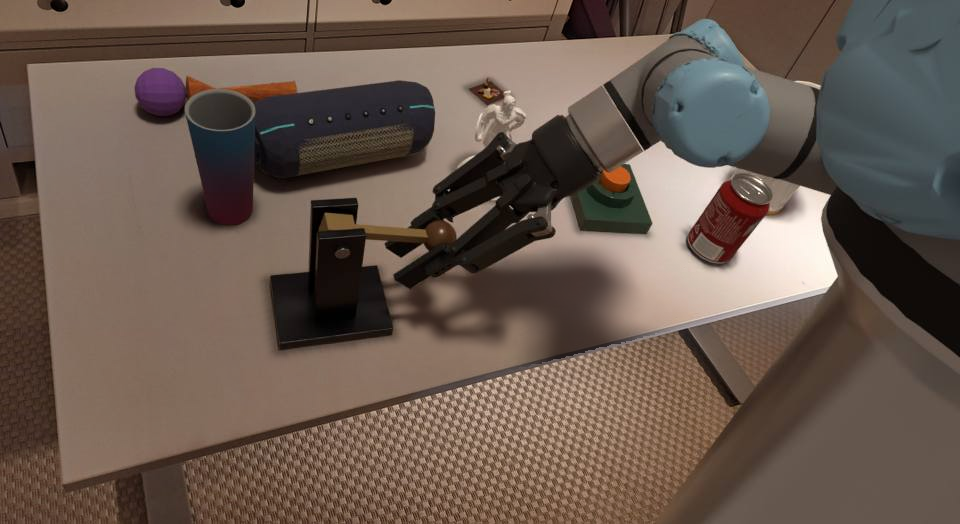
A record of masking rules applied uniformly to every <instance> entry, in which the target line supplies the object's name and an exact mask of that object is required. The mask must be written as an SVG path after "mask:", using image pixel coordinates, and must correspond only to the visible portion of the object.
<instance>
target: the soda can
mask: <svg viewBox="0 0 960 524" xmlns="http://www.w3.org/2000/svg"><path fill="white" fill-rule="evenodd" d="M729 179H730V178H729ZM729 179H727V180H725V181H723V182H722V183H721V185H720V187H718V189H717V191H716V192H715V194H714V195H713V196H712V198H711V200H710V201H709V202H708V204H707V205H706V207H705V208H704V210H703V211H702V213H701V214H700V216H699V217H698V219H697V220H696V222H695V223H694V225H693V226H692V228H691V229H690V230H689V232H688V234H687V241H688V245H689V247H690V248H691V250H692V251H693V252H694V253H695V254H696V255H697V256H699V258H701V259H703V260H705V261H707V262H709V263H712V264H725V263H728V262H730V261H731V260H732V258H733V257H734V256H735V255H736V254H737V252H738V251H739V250H740V248H741V247H742V246H743V245H744V244H745V242H746V241H747V240H748V238H749V237H750V236H751V234H753V232H754V231H755V229H756V228H757V227H758V226H759V225H760V223H761V222H762V221H763V220H764V218H765V217H766V215H767V213H768V211H769V209H770V201H771V200H772V197H773V195H772V191H771V189H770V187H769V186H768V185H767V184H766V183H765V182H764V181H763V180H761V179H760V178H758V177H756V176H754V175H751V174H747V173H739V174H736V175H735V176H734V177H733V178H732V179H730V180H729Z"/></svg>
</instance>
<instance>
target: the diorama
mask: <svg viewBox="0 0 960 524" xmlns="http://www.w3.org/2000/svg"><path fill="white" fill-rule="evenodd" d="M468 90H469V91H470V92H471V93H472V94H473V95H475V96H476V97H477V98H478V99H479V100H480V101H481V102H482V103H484V105H486V106H490V105H492V104H493V103H494V104H495V103H497V102H499V101H501V100H502V101H503V100H504V98H505V97H504V95H503V93H504V92H505V91H504V90H502V89H501V88H500V87H498V86H497V85H496V84H495V83H494V82H493V81H491V80H489V77H486V80H485V82H484V83H480V84H478V85H475V86H472V87H470V88H468Z"/></svg>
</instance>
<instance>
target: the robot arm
mask: <svg viewBox="0 0 960 524" xmlns="http://www.w3.org/2000/svg"><path fill="white" fill-rule="evenodd" d="M835 42H836V46H837V48H838V50H839V51H840V54H839V55H837V58H836V59H835V60H834V61H833V63H831V65H829V66H828V67H827V68H826V70H825V71H824V73H823V75H822V78H821V82H820V86H821V87H820V90H819V89H817V88H814V87H811V86H808V85H804V84H800V83H797V82H794V81H795V80H790V79H787V78H784V77H781V76H778V75H776V74H775V75H774V74H772V73H768V72H765V71H761V70H758V69H755V68H751V67H748V66H746V64H745V62H744V59H743V57H742V55H741V53H740V51H739V49H738V48H737V46H736V44H735V43H734V41H733V40H732V38H731V37H730V35H728V33H727V32H726V30H725V29H723V27H720V25H719V23H717V22H716V21H715V20H713V19H710V18H703V19H699V20H697V21H696V22H695V23H693V24H691V25H689V26H687V27H686V28H684V29H683V30H681V31H677V32H675V33H673V34H672V35H670V36H669V37H668V39H667V40H666V41H664V42H663V43H662V44H660V45H659V46H657V47H656V48H654V49H653V50H651V51H650V52H648V53H647V54H646V55H644V56H643V57H641V58H639V60H637V61H635V62H634V63H632V64H631V65H629V66H628V67H627V68H625V69H623V70H622V71H620V73H618V74H616V75H615V76H614V77H612V78H610V79H609V80H608V81H606V82H604V83H603V84H602V85H600V86H598V87H597V88H595V89H594V90H592V91H590V92H589V93H588V94H587V95H584V96H583V97H582V98H580V99H579V100H577V101H575V102H574V103H573V104H571V105H569V106H568V108H567V113H568V114H567V115H566V116H564V115H563V114H557V115H555V116H554V117H552V118H551V119H548V121H546V122H545V123H543V124H542V125H540V126H539V127H537V128H536V129H534V131H532V133H531V138H530V139H529V140H527V141H521V142H519V143H516V142H514V141H513V140H512V141H511V140H510V139H509V138H508V137H507V136H506V134H505V133H504V132H500V133H498V134H497V135H496V136H495V137H494V139H493V140H492V141H491V142H490V144H489V145H488V146H487V147H486V148H485V147H484V148H485V149H484V148H483V149H484V150H483V149H482V150H481V151H479V152H478V153H477V154H475V155H476V156H474V155H473V156H474V157H473V158H471V159H470V160H469V161H467V162H466V163H465V164H463V165H462V166H461V167H459V168H458V169H457V168H456V169H455V170H454V171H453V172H451V173H450V174H448V175H447V176H446V177H445V178H443V179H442V180H441V181H439V182H438V183H437V184H435V185H434V186H433V188H432V193H433V194H434V201H433V202H432V205H431V207H429V208H427V209H426V210H424V211H423V212H422V213H420V214H419V215H417V216H415V217H414V218H413V219H412V220H411V221H410V225H409V226H408V227H407V228H411V229H425V228H426V226H427V225H428V224H430V223H431V222H433V221H437V220H442V221H445V220H447V222H448V223H449V222H450V223H454V218H455V217H458V216H459V215H461V214H464V213H466V212H468V211H471V210H472V209H474V208H476V207H477V208H478V206H481V205H483V204H486V203H488V202H489V201H493V200H492V199H494V198H496V197H499V196H500V197H499V198H498V199H497V200H495V204H494V206H493V207H491V208H490V209H489V210H488V211H487V212H485V213H484V215H483V216H481V217H480V218H479V219H478V220H477V221H476V222H475V223H473V224H472V225H471V226H470V227H469V228H468V229H467V230H465V231H464V232H463V233H462V234H461V235H459V237H457V239H456V240H455V241H454V242H453V243H452V244H451V245H449V244H447V243H445V244H444V243H443V242H442V243H441V244H439V245H438V246H436V247H435V248H433V249H432V250H430V251H427V252H425V253H424V254H422V255H421V256H419V257H418V258H416V259H415V260H413V261H412V262H410V263H409V264H406V265H405V266H404V267H403V268H401V269H399V270H398V271H396V272H394V273H393V274H392V276H393V280H394V281H395V282H397V283H399V284H400V285H402V286H404V287H405V288H407V289H409V290H411V289H413V288H414V287H416V286H417V285H419V284H421V283H422V282H424V281H425V280H427V279H429V278H430V277H431V278H433V279H437V278H439V277H441V276H443V275H444V274H446V273H448V272H450V271H451V270H452V269H454V268H455V267H457V266H460V267H462V268H463V269H464V270H465V271H467V272H469V274H472V275H476V274H479V273H480V272H482V271H484V270H486V269H488V268H489V267H491V266H493V265H494V264H496V263H498V262H500V261H501V260H504V259H505V258H507V257H509V256H511V255H513V254H514V253H516V252H518V251H519V250H521V249H524V248H526V247H527V246H529V245H530V244H532V243H534V242H538V241H543V240H549V239H552V238H553V237H554V236H555V235H556V233H557V232H556V228H555V227H554V226H553V224H552V211H553V210H555V209H556V208H557V206H558V205H559V203H561V201H563V199H565V198H567V197H571V196H573V195H576V194H578V193H579V192H581V191H582V190H584V189H585V188H587V187H589V186H590V185H592V184H593V183H595V182H597V181H598V180H600V179H599V177H601V174H600V171H602V170H603V169H604V170H605V171H606V172H609V173H610V172H612V171H613V170H615V169H617V168H618V167H620V166H621V165H623V164H627V162H630V161H631V160H633V159H634V158H635V157H637V156H639V155H640V154H642V153H644V152H645V151H647V150H649V149H650V148H651V147H653V146H655V145H657V144H658V143H660V142H661V143H663V144H664V145H665V148H666V149H669V150H671V152H672V153H673V155H675V156H677V157H678V158H680V160H681V159H682V160H683V161H686V162H687V163H689V164H691V165H694V166H697V167H701V168H707V169H709V168H712V169H714V168H722V167H725V166H726V167H727V166H729V167H733V168H735V169H736V168H739V169H743V170H746V171H750V172H753V173H757V174H760V175H763V176H767V177H772V178H774V179H780V180H783V181H787V182H790V183H793V184H796V185H800V187H802V188H806V189H809V190H813V191H816V192H819V193H823V194H826V195H829V197H828V199H827V201H826V202H825V204H824V207H823V208H822V209H821V215H820V217H821V218H820V222H821V228H822V233H823V237H824V239H825V242H826V246H827V248H828V250H829V254H830V257H831V261H832V264H833V266H834V269H835V272H836V275H837V276H836V278H835V279H834V281H833V282H832V284H831V285H830V286H829V288H828V289H827V290H826V291H825V293H824V294H823V296H822V297H821V298H820V299H819V301H818V302H817V303H816V305H815V306H814V308H813V309H812V310H811V312H810V313H809V315H807V317H806V319H804V321H803V323H802V324H801V325H800V326H799V328H798V329H797V330H796V332H795V333H794V334H793V335H792V337H791V339H790V340H789V341H788V342H787V343H786V345H785V347H784V348H783V349H782V350H781V352H780V353H779V355H778V356H777V357H776V359H774V361H773V363H771V365H770V367H769V368H768V369H767V370H766V372H765V374H764V375H763V376H762V377H761V379H760V380H759V381H758V383H757V384H756V385H755V386H754V388H753V390H752V391H751V392H750V394H749V395H747V397H746V399H745V400H744V401H743V402H742V404H741V405H740V407H739V408H738V409H737V411H736V412H735V413H734V415H733V416H732V418H730V420H729V421H728V423H727V424H726V426H725V427H724V428H723V429H722V431H721V432H720V434H719V435H718V436H717V437H716V439H715V440H714V441H713V443H712V444H711V446H710V447H709V448H708V449H707V451H706V453H705V454H704V455H703V456H702V458H701V459H700V460H699V462H698V463H697V464H696V465H695V467H694V469H693V470H692V471H691V472H690V473H689V475H688V476H687V478H685V481H684V482H683V483H682V484H681V485H680V487H679V489H678V490H677V491H676V492H675V494H674V495H673V496H672V497H671V499H670V500H669V502H668V503H667V505H666V506H664V508H663V509H662V511H661V513H659V515H658V517H657V518H656V519H655V520H654V522H653V524H960V0H852V1H851V3H850V6H849V8H848V9H847V12H846V13H845V15H844V18H843V20H842V23H841V25H840V27H839V29H838V31H837V34H836V36H835ZM504 163H505V164H504ZM526 217H527V218H526ZM524 218H526V219H524ZM422 245H424V244H423V243H412V242H396V241H385V242H384V246H385V249H386V250H387V251H389V252H390V253H393V254H394V255H395V256H397V257H399V258H400V259H402V258H404V257H405V256H406V255H408V254H410V253H412V252H413V251H415V250H416V249H418V248H419V247H421V246H422Z"/></svg>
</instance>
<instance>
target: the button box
mask: <svg viewBox="0 0 960 524" xmlns="http://www.w3.org/2000/svg"><path fill="white" fill-rule="evenodd" d="M621 167H623V168H624V169H626V170H627V171H628V172H629V174H630V176H631V180H630V182H629V184H628V186H627V188H626V190H625V191H624V192H622V193H614V192H611V191H609V190H607V189H605V188H604V187H603V186H602V185H601V184H600V182H599V180H598V181H597V182H595V183H593V184H592V185H590V186H589V187H587V188H585V189H584V190H582V191H581V192H579V193H578V194H576V195H573V196H570V199H571V203H572V207H573V211H574V213H575V218H576V221H577V224H578V227H579V230H580V231H589V232H591V231H592V232H603V233H604V232H605V233H623V234H624V233H625V234H639V235H647V234H648V232H649V231H650V229H651V228H652V226H653V224H654V223H653V220H652V218H651V216H650V214H649V213H650V212H649V210H648V207H647V204H646V202H645V199H644V197H643V195H642V191H641V189H640V187H639V183H638V182H637V179H636V176H635V174H634V172H633V169H632V166H631V164H629V163H624V164H623V165H621ZM602 171H603V170H602ZM602 171H600V174H601V173H602ZM599 178H600V177H599Z"/></svg>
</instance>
